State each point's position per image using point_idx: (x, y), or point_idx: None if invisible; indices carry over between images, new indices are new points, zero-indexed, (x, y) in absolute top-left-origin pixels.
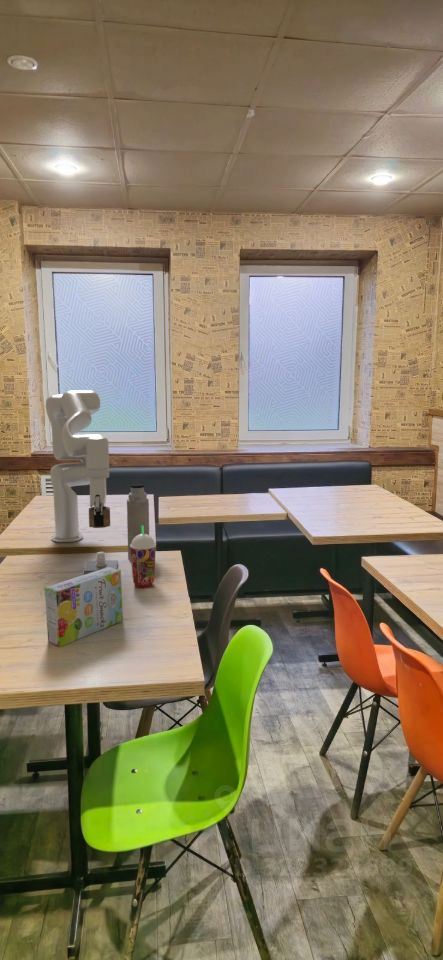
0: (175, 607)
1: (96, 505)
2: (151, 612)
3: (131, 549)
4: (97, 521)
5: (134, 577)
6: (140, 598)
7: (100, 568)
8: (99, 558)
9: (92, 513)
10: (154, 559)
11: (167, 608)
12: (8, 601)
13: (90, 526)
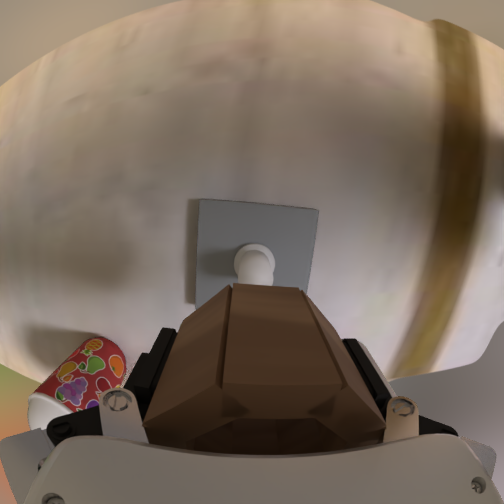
0: (28, 369)
1: (3, 458)
2: (6, 332)
3: (39, 389)
4: (138, 371)
5: (79, 347)
6: (44, 331)
7: (216, 260)
8: (239, 267)
9: (169, 387)
10: None
11: (22, 358)
12: (58, 47)
13: (218, 293)
